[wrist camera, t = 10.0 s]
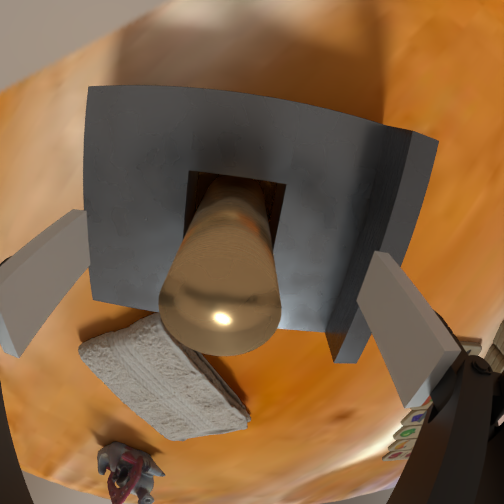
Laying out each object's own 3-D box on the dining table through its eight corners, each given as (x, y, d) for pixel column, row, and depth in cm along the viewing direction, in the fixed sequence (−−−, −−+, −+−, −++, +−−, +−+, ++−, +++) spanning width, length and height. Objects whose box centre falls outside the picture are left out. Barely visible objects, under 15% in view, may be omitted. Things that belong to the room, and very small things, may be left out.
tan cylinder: (202, 224, 21) (159, 347, 10) (208, 168, 19) (158, 248, 9) (259, 232, 21) (268, 361, 11) (269, 177, 20) (294, 267, 9)
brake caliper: (102, 439, 32) (134, 515, 26) (160, 430, 41) (191, 495, 35) (77, 451, 35) (103, 514, 29) (128, 444, 44) (154, 500, 38)
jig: (112, 271, 23) (75, 326, 16) (116, 88, 17) (59, 85, 10) (333, 301, 24) (356, 363, 18) (382, 127, 18) (439, 140, 12)
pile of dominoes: (433, 334, 27) (456, 370, 22) (559, 295, 26) (579, 315, 22) (372, 466, 43) (378, 489, 38) (482, 427, 42) (491, 445, 37)
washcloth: (176, 429, 34) (172, 448, 31) (78, 337, 27) (66, 358, 24) (258, 412, 32) (259, 433, 29) (165, 301, 25) (156, 324, 22)
